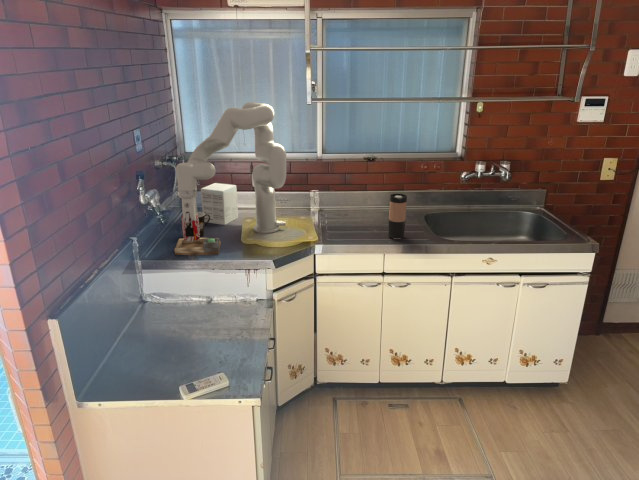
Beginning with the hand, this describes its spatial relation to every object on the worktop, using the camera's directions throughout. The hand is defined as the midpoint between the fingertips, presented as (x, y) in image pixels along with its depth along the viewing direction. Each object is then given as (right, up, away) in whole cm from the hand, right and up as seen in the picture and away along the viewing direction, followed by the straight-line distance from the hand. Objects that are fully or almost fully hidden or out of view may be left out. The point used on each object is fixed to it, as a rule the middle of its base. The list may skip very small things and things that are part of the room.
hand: (191, 232), depth 211 cm
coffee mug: (-1, -1, +21) cm, 21 cm away
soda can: (0, -3, +1) cm, 3 cm away
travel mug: (+91, -2, +19) cm, 93 cm away
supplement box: (+4, +7, +42) cm, 43 cm away
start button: (+9, -7, 0) cm, 11 cm away
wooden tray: (+3, -7, +3) cm, 8 cm away
